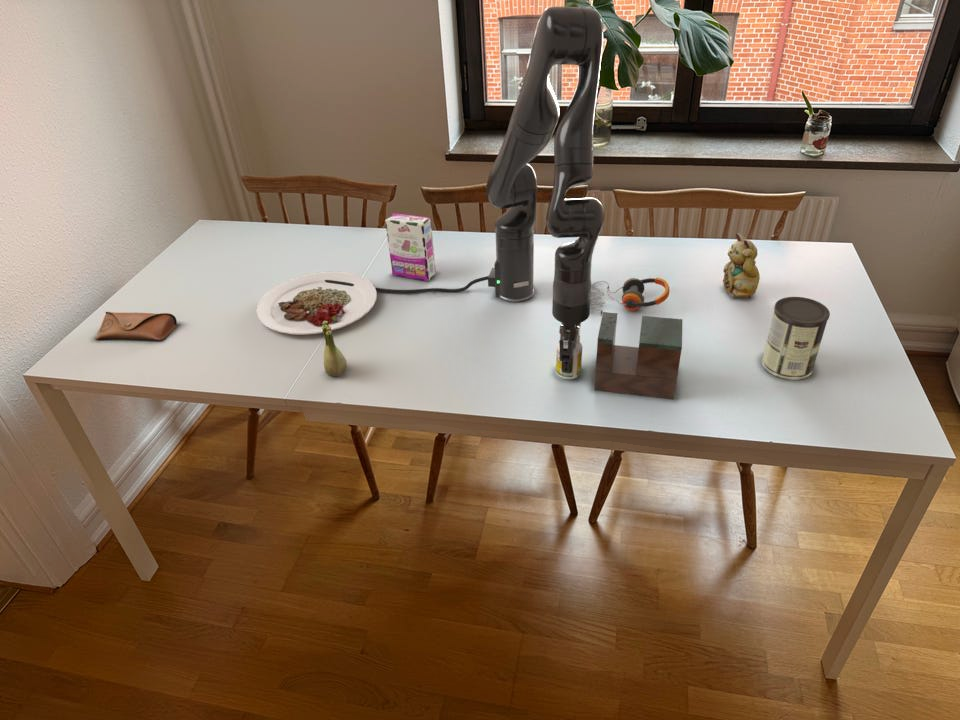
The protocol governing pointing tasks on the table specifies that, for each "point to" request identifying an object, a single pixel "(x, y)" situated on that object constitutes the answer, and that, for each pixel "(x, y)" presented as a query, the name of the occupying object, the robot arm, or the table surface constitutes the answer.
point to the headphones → (634, 294)
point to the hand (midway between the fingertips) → (568, 363)
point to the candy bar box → (411, 246)
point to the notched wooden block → (639, 358)
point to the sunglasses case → (136, 326)
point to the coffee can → (794, 337)
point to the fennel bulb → (332, 354)
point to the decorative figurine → (741, 269)
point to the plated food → (316, 303)
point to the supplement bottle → (576, 362)
